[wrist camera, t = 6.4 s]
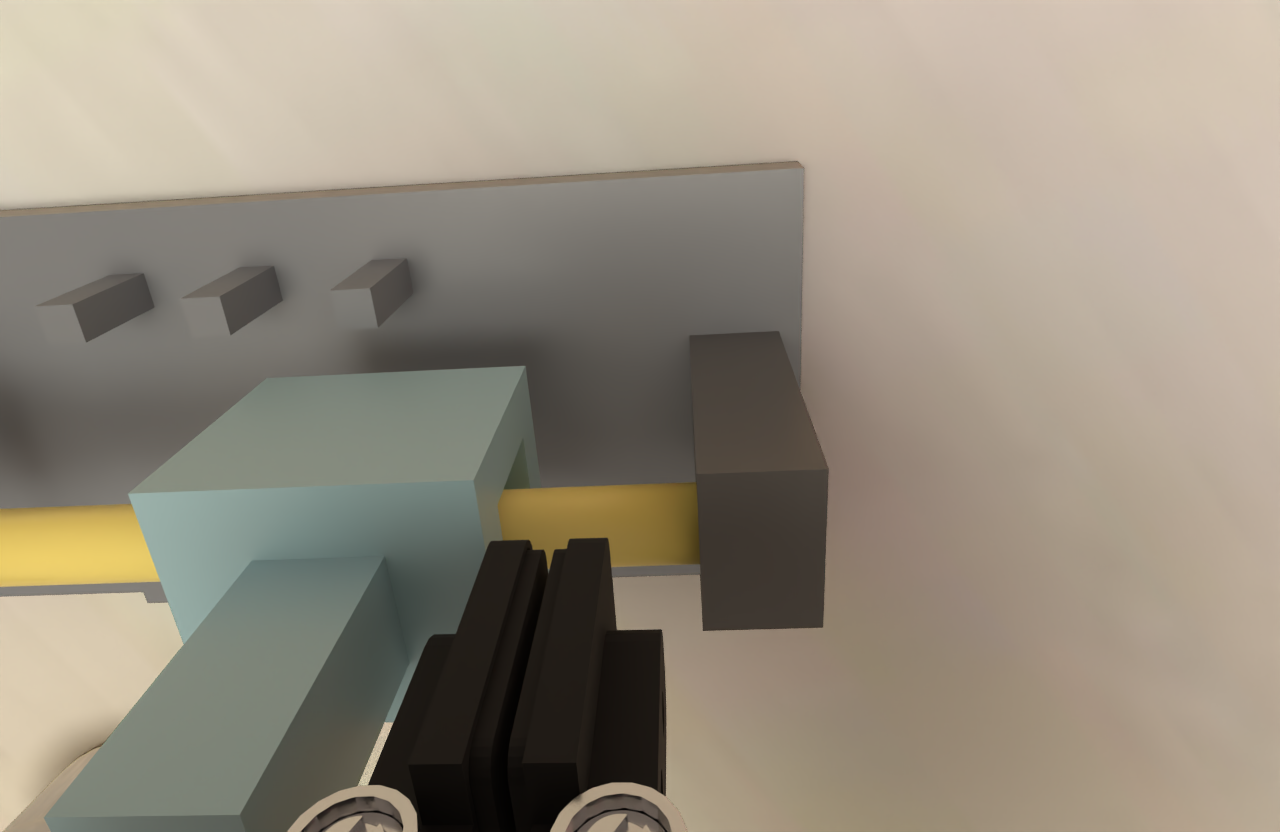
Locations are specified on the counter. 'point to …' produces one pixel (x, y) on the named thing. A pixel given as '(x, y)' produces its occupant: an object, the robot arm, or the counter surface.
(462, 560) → the sleeve
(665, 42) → the counter surface
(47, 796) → the ramekin
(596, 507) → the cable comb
